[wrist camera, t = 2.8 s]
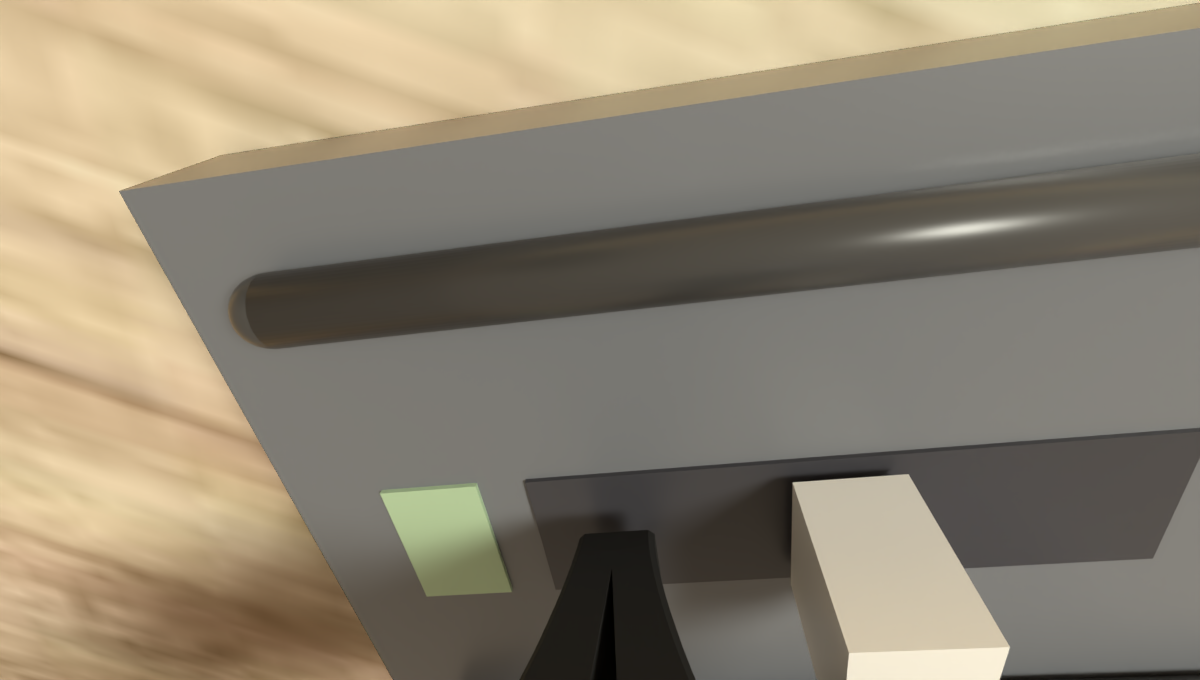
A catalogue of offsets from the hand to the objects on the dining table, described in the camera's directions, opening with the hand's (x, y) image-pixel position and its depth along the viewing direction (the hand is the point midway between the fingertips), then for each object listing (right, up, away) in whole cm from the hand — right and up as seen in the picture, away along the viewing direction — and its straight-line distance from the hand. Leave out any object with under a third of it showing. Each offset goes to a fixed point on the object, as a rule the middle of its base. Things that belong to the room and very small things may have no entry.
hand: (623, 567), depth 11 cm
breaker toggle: (+4, +1, 0) cm, 4 cm away
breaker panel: (+4, +2, +2) cm, 5 cm away
